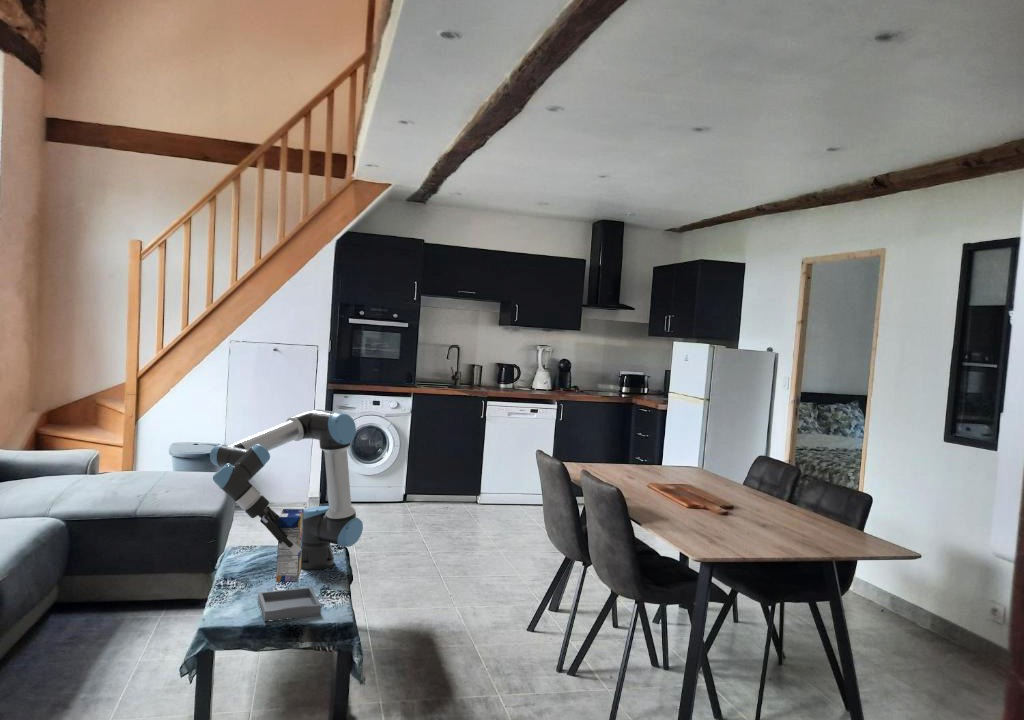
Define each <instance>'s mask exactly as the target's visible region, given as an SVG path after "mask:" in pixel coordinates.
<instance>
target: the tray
mask: <svg viewBox="0 0 1024 720" xmlns="http://www.w3.org/2000/svg"><path fill="white" fill-rule="evenodd" d="M257 595H258V597H257V598H258V599H257V603H259V604H258V606H259V605H260V607H259V609H260V608H261V610H260V612H261V611H262V613H261V615H262V614H263V616H262V618H263V617H264V619H263V621H264V620H265V621H269V620H278V619H287V618H288V619H287V620H290V619H289V618H295V619H300V618H299V617H304V618H308V617H307V616H312V617H318V615H322V604H321V603H320V600H319V598H318V597H317V595H316V593H315V591H314V589H313V588H312V587H311V586H309V587H308V586H307V587H299V588H289V589H280V590H271V591H259V592H258V593H257ZM297 617H298V618H297Z"/></svg>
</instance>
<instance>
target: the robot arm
mask: <svg viewBox="0 0 1024 720" xmlns="http://www.w3.org/2000/svg"><path fill="white" fill-rule="evenodd" d="M356 432H357V425H356V423H355V420H354V418H353V417H352V416H350V415H349V414H347V413H344V412H341V411H334V410H333V411H331V410H324V409H312V410H307V411H304V412H300V413H298V414H296V415H294V416H291V417H289V418H287V419H286V420H285V421H284V422H283V423H280V424H278V425H275V426H273V427H270V428H267V429H265V430H263V431H260V432H258V433H255V434H253V435H250V436H248V437H246V438H242V439H240V440H238V441H235V442H233V443H230V444H217V445H215V446H214V447H213V448H212V449H211V450H210V453H209V460H210V463H212V464H213V465H214V466H217V467H220V469H219V470H217V471H216V472H215V473H214V474H213V475H212V481H213V482H214V483H215V484H216V486H217V487H219V489H220V490H222V491H223V492H224V493H225V494H226V495H227V496H228V497H229V498H230V499H232V501H233V502H234V503H235V506H236V507H240V508H241V509H242V510H244V511H245V513H246V514H247V515H248V516H249V517H250V518H251V519H254V518H257V517H259V518H260V520H259V521H260V523H261V524H262V525H263V526H264V527H265V528H266V529H267V530H268V531H269V532H270V534H272V536H273V537H274V539H276V541H277V544H278V543H279V544H281V543H283V544H284V545H285V546H286V547H287V548H288V549H289V550H290V551H291V552H292V553H293V554H294V555H297V554H298V553H299V552H300V551H301V550H302V557H301V569H304V570H323V569H328V568H330V567H333V566H334V564H335V556H334V552H333V549H332V546H331V544H333V545H336V546H339V547H345V548H346V547H347V548H350V547H353V546H354V545H355V544H357V542H358V541H359V540H360V538H361V537H362V534H363V530H364V524H363V521H362V520H361V519H360V518H359V517H357V512H356V508H354V506H352V498H351V497H352V496H351V485H350V473H349V472H350V471H349V460H348V459H349V458H348V448H349V447H350V446H351V442H353V440H354V438H355V436H356ZM304 439H305V440H306V439H310V440H311V439H313V440H318V441H319V442H318V443H319V448H320V450H322V451H323V452H324V462H325V463H324V464H325V474H326V475H325V476H326V488H327V497H328V499H327V501H328V505H321V506H320V505H319V506H312V507H311V506H310V507H308V508H305V509H304V515H303V536H302V549H301V548H300V547H299V546H298V545H297V544H296V543H295V542H294V541H293V540H292V539H291V538H290V537H289V536H287V535H286V534H285V533H284V532H283V531H282V530H281V529H280V528H279V516H280V515H279V514H277V513H276V512H275V511H274V510H273V509H271V508H270V506H269V504H270V501H269V500H268V499H267V498H266V497H265V496H264V495H261V492H260V491H259V490H258V489H257V488H256V487H255V486H254V485H253V484H252V483H251V482H250V480H252V478H254V476H255V475H256V474H257V473H258V472H260V470H262V469H263V468H264V467H265V466H266V464H267V463H268V462H269V461H270V459H271V454H270V452H269V451H271V450H273V449H277V448H279V447H280V446H284V445H286V444H287V443H290V442H292V441H295V442H299V441H302V440H304ZM327 567H328V568H327Z"/></svg>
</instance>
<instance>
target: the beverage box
mask: <svg viewBox="0 0 1024 720" xmlns="http://www.w3.org/2000/svg"><path fill="white" fill-rule="evenodd" d="M304 510H305V509H304V508H303V509H301V508H283V509H282V510H281V512H280V515H279V528H280V529H281V530H282V531H283V532H284V533H285V534H286V535H287V536H289V537H290V538H291V539H292V540H293V541H294V542H295V543H296V544H297V545H298V546H299V547H300V548H301V549H302V536H303V515H304ZM276 555H277V557H276V577H275V578H276V582H275V583H298V582H299V579H300V575H301V572H302V568H301V557H302V550H301V551H300V552H299V553H298V554H297V555H294V554H293V553H292V552H291V551H290V550H289V549H288V548H287V547H286V546H285V545H284V544H283V543H281V544H279V543H278V542H277V554H276Z"/></svg>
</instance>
